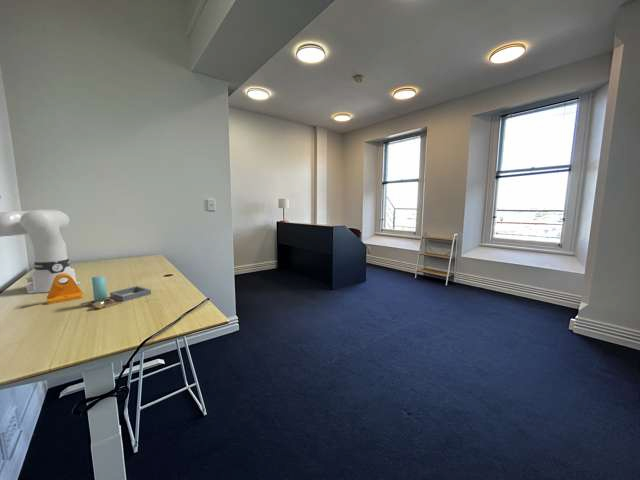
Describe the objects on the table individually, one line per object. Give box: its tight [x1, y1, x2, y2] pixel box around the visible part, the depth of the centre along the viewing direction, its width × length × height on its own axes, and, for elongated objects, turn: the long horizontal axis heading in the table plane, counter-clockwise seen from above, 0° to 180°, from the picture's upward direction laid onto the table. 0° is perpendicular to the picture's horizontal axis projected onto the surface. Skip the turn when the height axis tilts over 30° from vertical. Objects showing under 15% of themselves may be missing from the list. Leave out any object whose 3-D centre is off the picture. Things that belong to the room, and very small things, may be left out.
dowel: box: [91, 275, 108, 302], centre depth 104 cm, size 4×4×11 cm
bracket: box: [46, 273, 84, 305], centre depth 109 cm, size 11×7×12 cm, turn 136°
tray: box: [109, 285, 152, 303], centre depth 115 cm, size 11×11×3 cm
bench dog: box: [94, 301, 106, 311], centre depth 100 cm, size 3×3×2 cm
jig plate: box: [80, 297, 122, 311], centre depth 105 cm, size 14×9×2 cm, turn 62°
